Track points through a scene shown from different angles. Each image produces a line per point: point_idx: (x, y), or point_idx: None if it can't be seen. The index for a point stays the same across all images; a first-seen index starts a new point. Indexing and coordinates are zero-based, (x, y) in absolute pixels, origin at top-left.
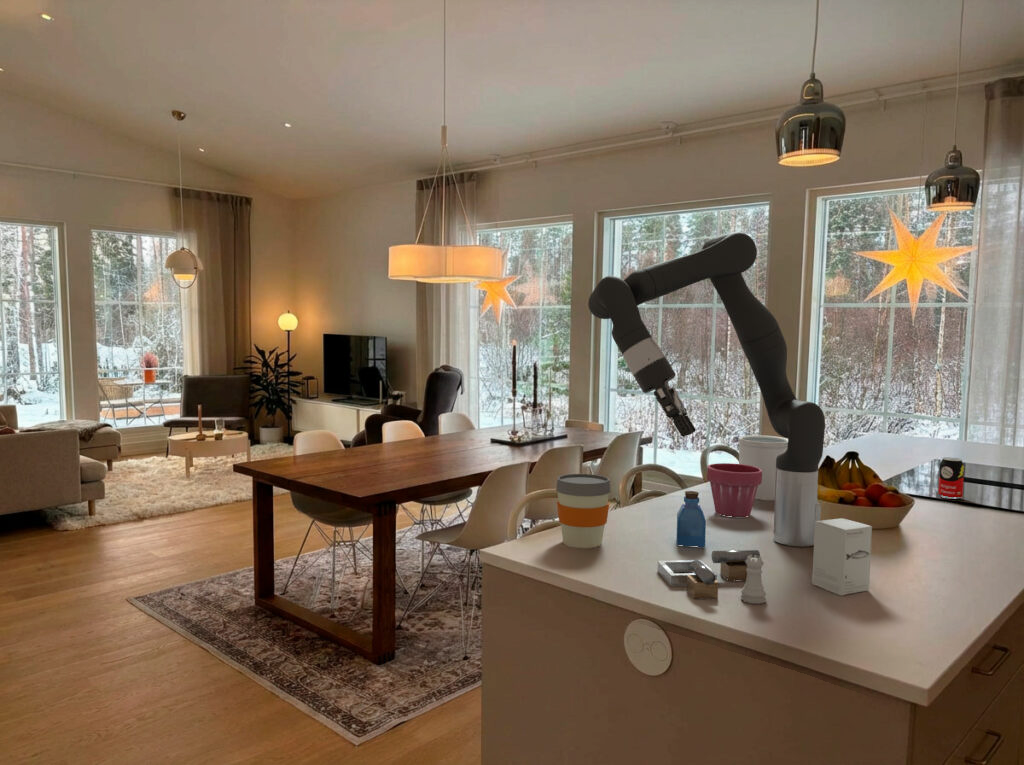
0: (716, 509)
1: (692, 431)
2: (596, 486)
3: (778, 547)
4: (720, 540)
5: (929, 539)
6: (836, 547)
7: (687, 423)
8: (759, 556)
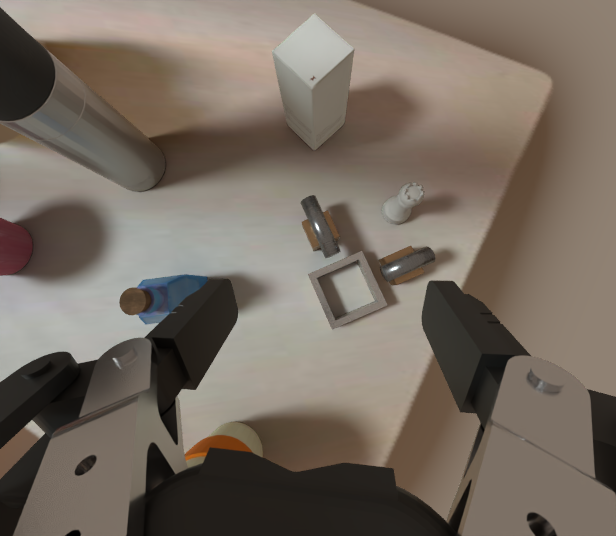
0: (8, 272)
1: (230, 292)
2: None
3: (173, 186)
4: (162, 259)
5: (82, 15)
6: (342, 86)
7: (454, 306)
8: (407, 185)
